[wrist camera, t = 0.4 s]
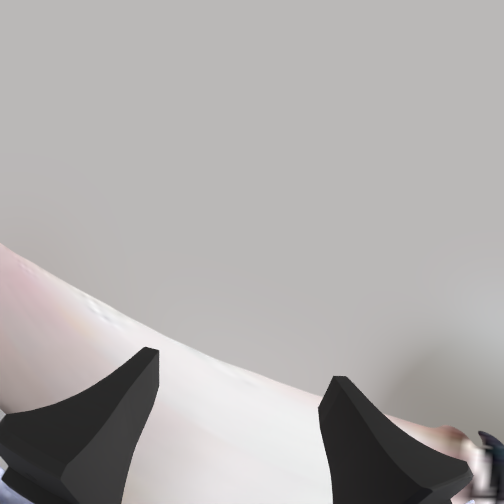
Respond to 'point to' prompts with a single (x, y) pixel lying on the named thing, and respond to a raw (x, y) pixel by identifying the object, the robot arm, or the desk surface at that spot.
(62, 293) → the desk surface
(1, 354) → the desk surface
